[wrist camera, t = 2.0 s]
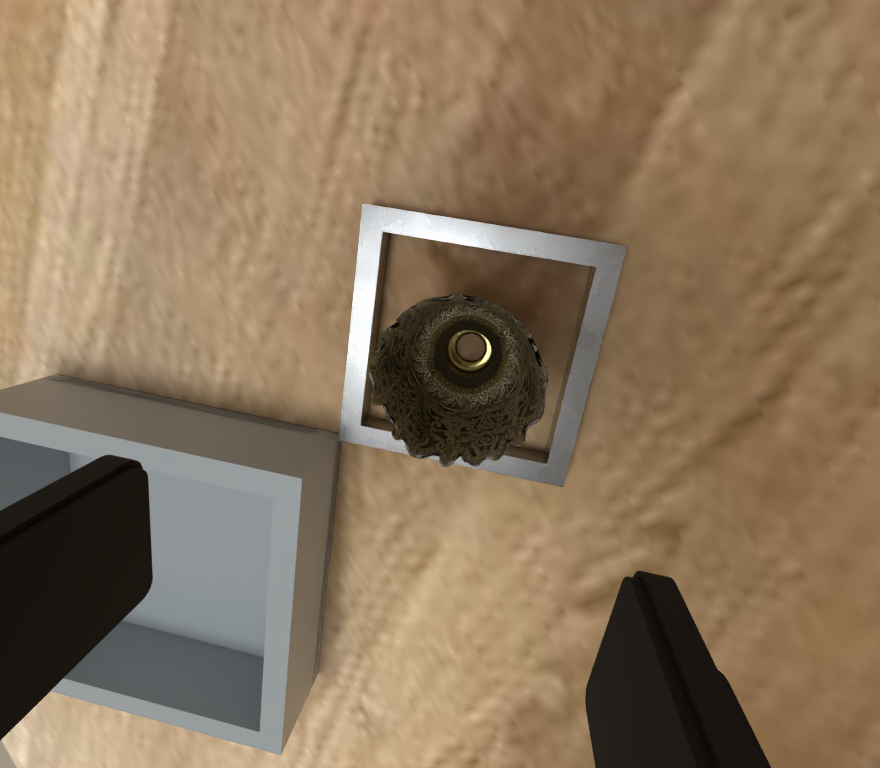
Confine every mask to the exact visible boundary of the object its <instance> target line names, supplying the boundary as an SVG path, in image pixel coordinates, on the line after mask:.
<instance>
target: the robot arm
mask: <svg viewBox="0 0 880 768" xmlns="http://www.w3.org/2000/svg"><path fill="white" fill-rule="evenodd" d="M152 582H153V570H152V548H151V526H150V504H149V482H148V474H147V472H146V471H145V470H143V467H142V465H141V463H140V462H138V461H137V460H133V459H128V458H124V457H119V456H115V455H104V456H101V457H99V458H98V459H96V460H94V461H92V462H90V463H88V464H86V465H84V466H83V467H81V468H79V469H77V470H75V471H73V472H71V473H70V474H68V475H66V476H64V477H62V478H60V479H58V480H56V481H55V482H53V483H51V484H49V485H47V486H45V487H43V488H42V489H40V490H38V491H36V492H34V493H32V494H30V495H28V496H27V497H25V498H23V499H21V500H19V501H17V502H15V503H13V504H12V505H10V506H8V507H6V508H4V509H2V510H0V740H1V739H2V738H3V737H4V736H5V735H6V734H7V733H8V732H9V731H10V730H11V729H12V728H13V727H14V726H15V725H16V724H17V723H19V722H20V721H21V720H22V719H23V718H24V717H25V716H26V715H27V714H28V713H29V712H30V711H31V710H32V709H33V708H34V707H35V706H36V705H37V704H38V703H39V702H40V701H41V700H42V699H43V698H44V697H45V696H46V695H47V694H48V693H49V692H50V691H51V690H52V689H53V688H54V687H55V686H56V685H57V684H58V683H59V682H60V681H61V680H62V679H63V678H64V677H65V676H66V675H67V674H68V673H69V672H70V671H71V670H72V669H73V668H74V667H75V666H76V665H77V664H78V663H79V662H80V661H81V660H82V659H83V658H84V657H85V656H86V655H87V654H88V653H89V652H90V651H91V650H92V649H93V648H95V647H96V646H97V645H98V644H99V643H100V642H101V641H102V640H103V639H104V638H105V637H106V636H107V635H108V634H109V633H110V632H111V631H112V630H113V629H114V628H115V627H116V626H117V625H118V624H119V623H120V622H121V621H122V620H123V619H124V618H125V617H126V616H127V615H128V614H129V613H130V612H131V611H132V610H133V609H134V608H135V607H136V606H137V605H138V604H139V603H140V602H141V601H142V600H143V599H144V598H145V597H146V595H147V594H148V592H149V590H150V588H151V585H152ZM585 700H586V711H587V718H588V724H589V730H590V736H591V742H592V748H593V754H594V760H595V767H596V768H771V767H770V765H769V762H768V760H767V758H766V756H765V754H764V752H763V750H762V748H761V746H760V744H759V742H758V740H757V738H756V736H755V734H754V732H753V730H752V728H751V726H750V724H749V722H748V720H747V718H746V716H745V714H744V712H743V710H742V708H741V706H740V704H739V702H738V700H737V698H736V696H735V694H734V692H733V690H732V688H731V686H730V684H729V682H728V681H727V679H726V678H725V676H724V675H723V674H722V673H721V672H720V671H719V670H717V668H716V666H715V664H714V662H713V660H712V657H711V655H710V653H709V651H708V649H707V647H706V645H705V643H704V641H703V639H702V637H701V635H700V633H699V631H698V628H697V626H696V624H695V622H694V620H693V618H692V616H691V614H690V612H689V610H688V608H687V606H686V604H685V602H684V599H683V597H682V595H681V593H680V591H679V589H678V587H677V585H676V583H675V582H674V580H673V579H672V578H670V577H666V576H661V575H657V574H652V573H648V572H643V571H637V572H636V573H635V574H634V576H633V578H632V577H625V578H624V579H623V581H622V584H621V587H620V590H619V592H618V595H617V598H616V601H615V604H614V607H613V610H612V613H611V616H610V619H609V622H608V625H607V628H606V631H605V634H604V636H603V639H602V642H601V645H600V648H599V651H598V654H597V657H596V660H595V663H594V666H593V669H592V672H591V675H590V678H589V680H588V684H587V688H586V698H585Z"/></svg>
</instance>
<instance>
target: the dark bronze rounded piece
mask: <svg viewBox="0 0 880 768" xmlns="http://www.w3.org/2000/svg"><path fill="white" fill-rule="evenodd" d="M396 321H397V322H396V323H395V324H393V325H392V326H389V327H388V329H387V330H386V331H385V332H384V333H383V334H382V335H381V339H382V342H381V344H380V346H379V348H378V349H377V350H376V351H375V353H374V355H373V357H372V360H371V362H370V365H369V369H368V373H369V377H370V380H371V384H372V387H373V389H372V391H371V393H370V394H371V401H372V404H373V405H374V406H377V405H379V406H380V405H383V407H384V409H385V412H386V417H387V418H388V419H390V420H391V422H392V427H393V430H392V437H393V438H394V439H395V440H397V441H400V440H403V441H404V443H405V446H406V448H407V452H408V453H409V454H410V455H411V456H412V457H415V458H418V459H421V458H428V457H430V456H437V457H439V462H440V463H441V464H442V466H443V467H447V466H450V465H452V464H454V462H455V461H456V460H457V459H458V458H459V457H461V458H462V460H463V461H464V462H467V463H469V464H470V465H472V466H478V465H480V464H481V463H482V462H483V461H484V460H486V459H488V460H492V461H497V460H499V459H500V458H501V457H502V456H503V455H504V454H505V452H506V450H507V448H508V446H509V443H511V441H512V442H514V443H515V446H519V447H520V446H521V445H522V444H523V442H524V441H525V436H526V431H527V429H528V428H529V427H530V426H531V425H534V424H536V423H537V422H538V421H539V420H540V419H541V418H542V416H543V413H544V407H545V387H546V386H547V383H548V374H547V370H546V367H545V366H544V365H543V363H542V361H541V357H540V354H539V350H538V348H537V346H536V344H535V342H534V340H533V339H532V334H531V332H530V331H529V330H528V329H527V328H526V327H525V326H524V325H523V324H522V323H521V322H520V321H519V320H518V319H517V318H516V317H514V316H513V315H512V314H511V313H510V312H508V311H507V310H506V309H504V308H503V307H501V306H499V305H497V304H495V303H492V302H490V301H487V300H484V299H481V298H476V297H470V296H465V295H461V294H454V295H450V296H446V297H437V298H431V299H426V300H423V301H420V302H418V303H416V305H415V306H412V307H411V308H409V309H408V310H406V311H404V312H403V313H402V314H401V316H400V317H399V318H398V319H397V320H396ZM466 334H475V335H478V336H479V337H480V338H481V339H482V340H483V341H484V344H485V352H484V354H483V356H482V357H481V358H480V359H479V360H477V361H473V362H469V361H465V360H463V359H462V358H461V357H460V356H459V355H458V353H457V342H458V340H459V339H460V338H461V337H462V336H464V335H466Z"/></svg>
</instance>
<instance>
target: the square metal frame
mask: <svg viewBox="0 0 880 768" xmlns="http://www.w3.org/2000/svg"><path fill="white" fill-rule="evenodd" d="M389 233H395V234H401V235H407V236H413V237H419V238H425V239H431V240H437V241H443V242H449V243H455V244H461V245H467V246H473V247H479V248H485V249H491V250H497V251H503V252H509V253H515V254H521V255H527V256H533V257H539V258H545V259H551V260H557V261H563V262H569V263H575V264H581V265H587V266H591V270H590V274H589V278H588V282H587V286H586V290H585V294H584V298H583V302H582V306H581V310H580V314H579V318H578V322H577V327H576V331H575V335H574V339H573V343H572V347H571V351H570V355H569V359H568V363H567V367H566V371H565V375H564V379H563V383H562V387H561V391H560V395H559V399H558V403H557V407H556V411H555V415H554V419H553V423H552V427H551V432H550V436H549V440H548V444H547V448H546V452H545V453H542V452H537V451H532V450H527V449H522V448H518V447H513V446H508V448H507V450H506V452H505V454H504V455H503V456H502V457H501V458H500V459H499V460H497V461H492V460H488V459H486V460H484V461H483V462H482V463H481V464H480V465H478V466H472V465H470V464H469V463H467V462H464V461H463V460H462V458H461V457H459V458H458V459H457V460H456V461H455V462H454V464H455V465H460V466H465V467H470V468H474V469H479V470H484V471H489V472H493V473H498V474H503V475H508V476H512V477H517V478H522V479H527V480H531V481H536V482H541V483H546V484H550V485H555V486H560V487H563V486H564V482H565V479H566V475H567V471H568V467H569V464H570V460H571V456H572V452H573V449H574V445H575V441H576V437H577V434H578V430H579V426H580V422H581V419H582V415H583V411H584V407H585V404H586V400H587V396H588V392H589V389H590V385H591V381H592V377H593V374H594V370H595V366H596V362H597V359H598V355H599V351H600V348H601V344H602V340H603V336H604V333H605V329H606V325H607V321H608V318H609V314H610V310H611V306H612V303H613V299H614V295H615V291H616V288H617V284H618V280H619V276H620V273H621V269H622V265H623V261H624V258H625V254H626V250H627V246H623V245H617V244H611V243H605V242H599V241H592V240H586V239H580V238H574V237H568V236H561V235H555V234H549V233H543V232H537V231H530V230H524V229H518V228H512V227H506V226H499V225H493V224H487V223H481V222H475V221H468V220H462V219H456V218H450V217H444V216H437V215H431V214H425V213H419V212H413V211H406V210H400V209H394V208H388V207H382V206H375V205H369V204H363V205H362V215H361V225H360V235H359V245H358V255H357V265H356V275H355V285H354V294H353V304H352V314H351V324H350V334H349V344H348V354H347V364H346V374H345V384H344V394H343V404H342V414H341V424H340V434H339V440H341V441H346V442H351V443H355V444H360V445H365V446H370V447H374V448H379V449H384V450H389V451H393V452H398V453H403V454H408V455H410V454H409V453H408V452H407V448H406V446H405V443H404V441H403V440H400V441H397V440H395V439H394V438H393V437H392V430H393V427H392V422H390V421H385V420H381V419H376V418H371V417H368V410H369V401H370V393H371V385H372V384H371V380H370V377H369V373H368V369H369V365H370V362H371V360H372V357H373V355H374V353H375V351H376V342H377V334H378V326H379V317H380V309H381V300H382V292H383V283H384V275H385V267H386V258H387V250H388V241H389ZM427 459H431V460H436V461H439V457H437V456H430V457H428V458H427Z"/></svg>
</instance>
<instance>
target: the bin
mask: <svg viewBox="0 0 880 768" xmlns="http://www.w3.org/2000/svg"><path fill="white" fill-rule="evenodd" d="M340 450H341V440H339V433H335V432H330V431H325V430H320V429H316V428H311V427H306V426H301V425H296V424H292V423H287V422H282V421H277V420H272V419H268V418H263V417H258V416H253V415H248V414H244V413H239V412H234V411H229V410H225V409H220V408H215V407H210V406H205V405H201V404H196V403H191V402H186V401H181V400H177V399H172V398H167V397H162V396H158V395H153V394H148V393H143V392H138V391H134V390H129V389H124V388H119V387H114V386H110V385H105V384H100V383H95V382H91V381H86V380H81V379H76V378H71V377H67V376H62V375H57V374H55V375H52V376H48V377H45V378H41V379H38V380H34V381H31V382H27V383H24V384H20V385H16V386H13V387H9V388H6V389H2V390H0V510H2V509H4V508H6V507H8V506H10V505H12V504H13V503H15V502H17V501H19V500H21V499H23V498H25V497H27V496H28V495H30V494H32V493H34V492H36V491H38V490H40V489H42V488H43V487H45V486H47V485H49V484H51V483H53V482H55V481H56V480H58V479H60V478H62V477H64V476H66V475H68V474H70V473H71V472H73V471H75V470H77V469H79V468H81V467H83V466H84V465H86V464H88V463H90V462H92V461H94V460H96V459H98V458H99V457H101V456H104V455H115V456H119V457H124V458H128V459H133V460H137V461H138V462H140V463H141V465H142V467H143V470H145V471H146V472H147V474H148V482H149V504H150V526H151V548H152V570H153V582H152V585H151V588H150V590H149V592H148V594H147V595H146V597H145V598H144V599H143V600H142V601H141V602H140V603H139V604H138V605H137V606H136V607H135V608H134V609H133V610H132V611H131V612H130V613H129V614H128V615H127V616H126V617H125V618H124V619H123V620H122V621H121V622H120V623H119V624H118V625H117V626H116V627H115V628H114V629H113V630H112V631H111V632H110V633H109V634H108V635H107V636H106V637H105V638H104V639H103V640H102V641H101V642H100V643H99V644H98V645H97V646H96V647H95V648H93V649H92V650H91V651H90V652H89V653H88V654H87V655H86V656H85V657H84V658H83V659H82V660H81V661H80V662H79V663H78V664H77V665H76V666H75V667H74V668H73V669H72V670H71V671H70V672H69V673H68V674H67V675H66V676H65V677H64V678H63V679H62V680H61V681H60V682H59V683H58V684H57V685H56V686H55V687H54V688H53V689H52V690H51V691H52V692H55V693H59V694H62V695H66V696H70V697H73V698H77V699H80V700H84V701H88V702H91V703H95V704H98V705H102V706H106V707H109V708H113V709H116V710H120V711H124V712H127V713H131V714H134V715H138V716H142V717H145V718H149V719H152V720H156V721H160V722H163V723H167V724H170V725H174V726H178V727H181V728H185V729H188V730H192V731H196V732H199V733H203V734H206V735H210V736H214V737H217V738H221V739H224V740H228V741H232V742H235V743H239V744H242V745H246V746H250V747H253V748H257V749H260V750H264V751H268V752H271V753H275V754H278V755H281V754H282V752H283V749H284V747H285V745H286V743H287V741H288V738H289V736H290V734H291V732H292V730H293V727H294V725H295V723H296V721H297V719H298V716H299V714H300V712H301V710H302V707H303V705H304V703H305V701H306V699H307V696H308V694H309V692H310V690H311V688H312V685H313V683H314V681H315V679H316V676H317V674H318V666H319V656H320V646H321V636H322V627H323V617H324V607H325V597H326V587H327V578H328V568H329V558H330V548H331V538H332V529H333V519H334V509H335V499H336V490H337V480H338V470H339V460H340Z"/></svg>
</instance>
